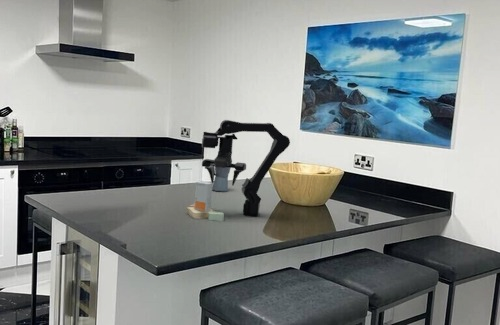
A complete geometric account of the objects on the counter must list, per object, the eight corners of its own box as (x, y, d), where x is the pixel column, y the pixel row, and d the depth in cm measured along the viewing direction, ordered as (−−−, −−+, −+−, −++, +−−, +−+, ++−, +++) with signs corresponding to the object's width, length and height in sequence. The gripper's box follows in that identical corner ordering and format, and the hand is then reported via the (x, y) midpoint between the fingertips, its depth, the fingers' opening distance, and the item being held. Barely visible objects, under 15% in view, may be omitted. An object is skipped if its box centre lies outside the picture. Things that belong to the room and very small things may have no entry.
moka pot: (234, 190, 274) (237, 155, 272) (218, 193, 261) (221, 156, 259) (220, 187, 279) (223, 153, 277) (204, 190, 266) (207, 154, 264)
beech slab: (208, 212, 216) (209, 207, 216) (216, 218, 207) (216, 212, 207) (186, 212, 212) (187, 207, 212) (193, 218, 203) (194, 212, 203)
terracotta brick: (195, 209, 221) (195, 203, 220) (201, 210, 220) (201, 204, 219) (189, 212, 215) (189, 205, 215) (195, 213, 214) (195, 206, 214)
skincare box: (193, 209, 209) (195, 181, 207) (199, 207, 213) (201, 180, 211) (205, 211, 206) (207, 183, 205) (211, 210, 210) (213, 182, 209)
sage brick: (222, 219, 207) (222, 212, 206) (223, 221, 204) (223, 214, 204) (208, 219, 206) (208, 212, 205) (208, 220, 203) (209, 213, 202)
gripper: (199, 148, 207) (196, 184, 209) (242, 152, 204) (239, 189, 206) (206, 146, 218) (204, 180, 220) (247, 150, 215) (244, 185, 217)
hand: (222, 184), depth 215 cm, fingers open, 9 cm apart
